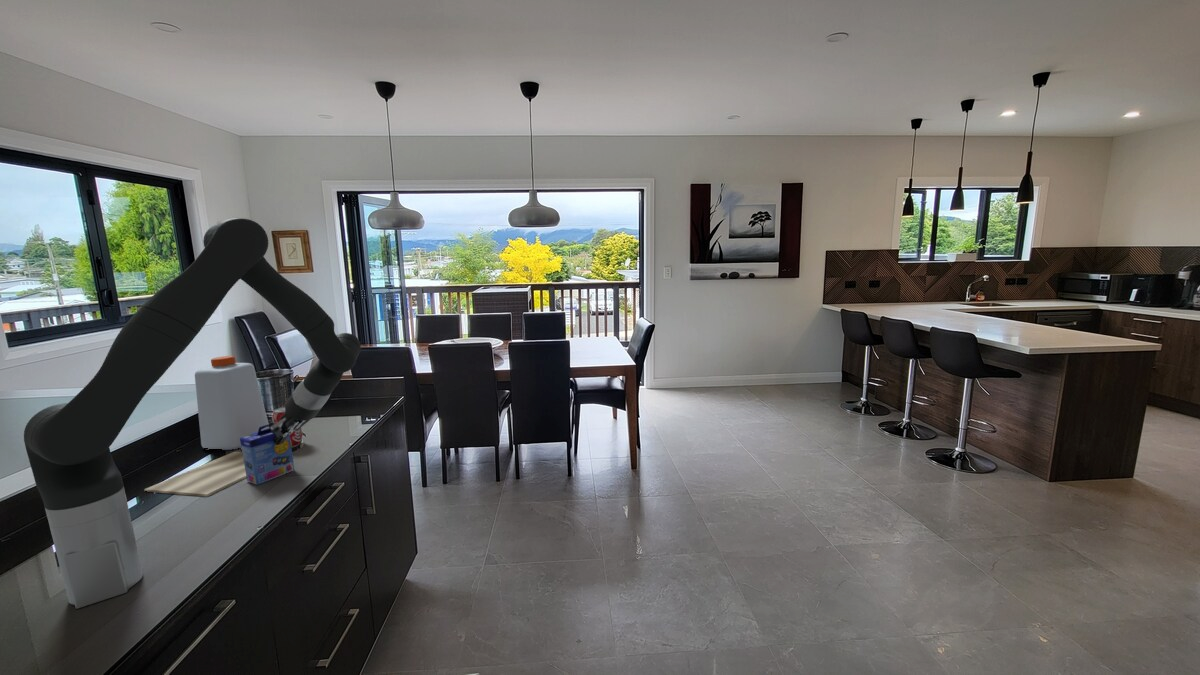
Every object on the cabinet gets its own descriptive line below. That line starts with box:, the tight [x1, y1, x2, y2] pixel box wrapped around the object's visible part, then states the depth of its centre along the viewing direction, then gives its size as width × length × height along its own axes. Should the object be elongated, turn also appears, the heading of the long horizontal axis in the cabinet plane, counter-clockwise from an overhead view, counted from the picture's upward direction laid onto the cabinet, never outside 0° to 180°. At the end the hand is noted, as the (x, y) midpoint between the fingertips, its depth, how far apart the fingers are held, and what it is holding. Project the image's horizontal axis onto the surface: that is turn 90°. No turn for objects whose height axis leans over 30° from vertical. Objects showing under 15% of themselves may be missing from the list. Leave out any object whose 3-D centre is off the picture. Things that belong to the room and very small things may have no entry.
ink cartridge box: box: [240, 423, 295, 486], centre depth 126 cm, size 10×6×14 cm, turn 152°
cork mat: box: [144, 451, 247, 498], centre depth 130 cm, size 20×24×1 cm
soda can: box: [271, 406, 303, 448], centre depth 148 cm, size 7×7×12 cm
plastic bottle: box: [194, 355, 270, 451], centre depth 152 cm, size 15×15×28 cm
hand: (276, 441), depth 124 cm, fingers closed
